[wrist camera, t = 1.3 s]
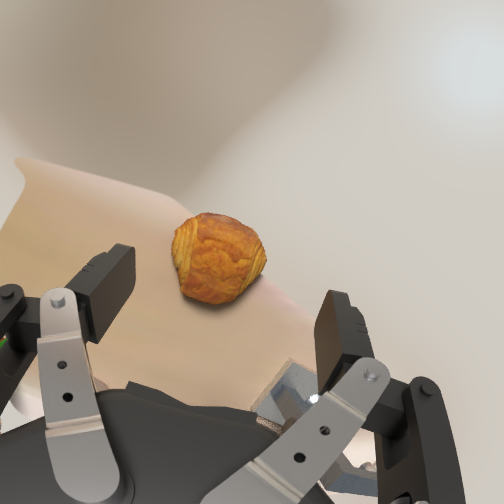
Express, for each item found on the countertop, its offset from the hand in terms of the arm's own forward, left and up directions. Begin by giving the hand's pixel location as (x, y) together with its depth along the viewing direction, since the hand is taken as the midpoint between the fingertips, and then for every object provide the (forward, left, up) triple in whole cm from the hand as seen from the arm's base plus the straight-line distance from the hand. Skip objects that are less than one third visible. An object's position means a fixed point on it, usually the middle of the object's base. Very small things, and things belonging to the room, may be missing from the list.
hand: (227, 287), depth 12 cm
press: (-15, -36, -40) cm, 56 cm away
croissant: (-1, -4, -40) cm, 41 cm away
